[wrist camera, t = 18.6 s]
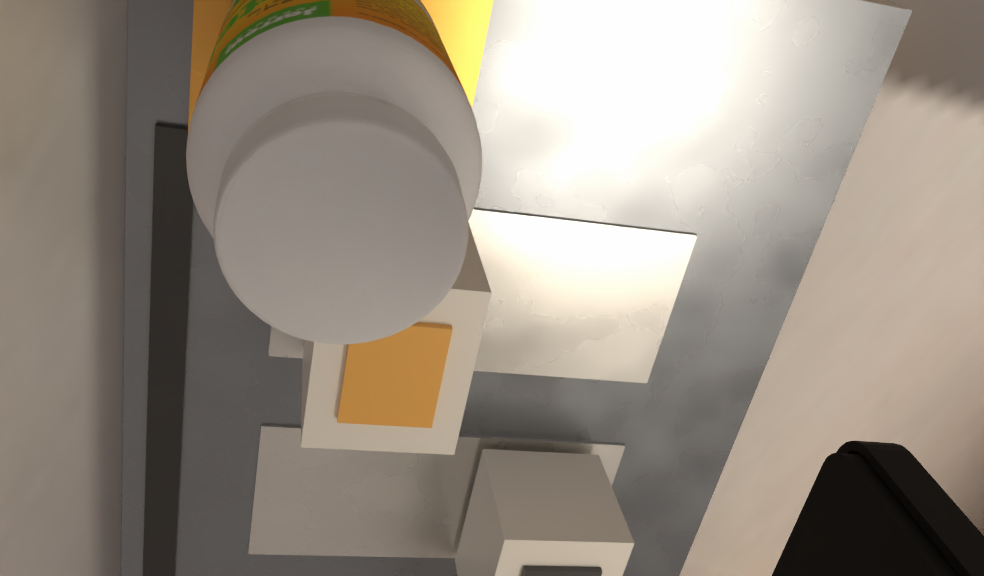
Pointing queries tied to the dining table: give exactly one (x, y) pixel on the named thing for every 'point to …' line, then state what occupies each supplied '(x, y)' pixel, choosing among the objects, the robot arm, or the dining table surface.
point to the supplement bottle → (334, 164)
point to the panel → (505, 278)
